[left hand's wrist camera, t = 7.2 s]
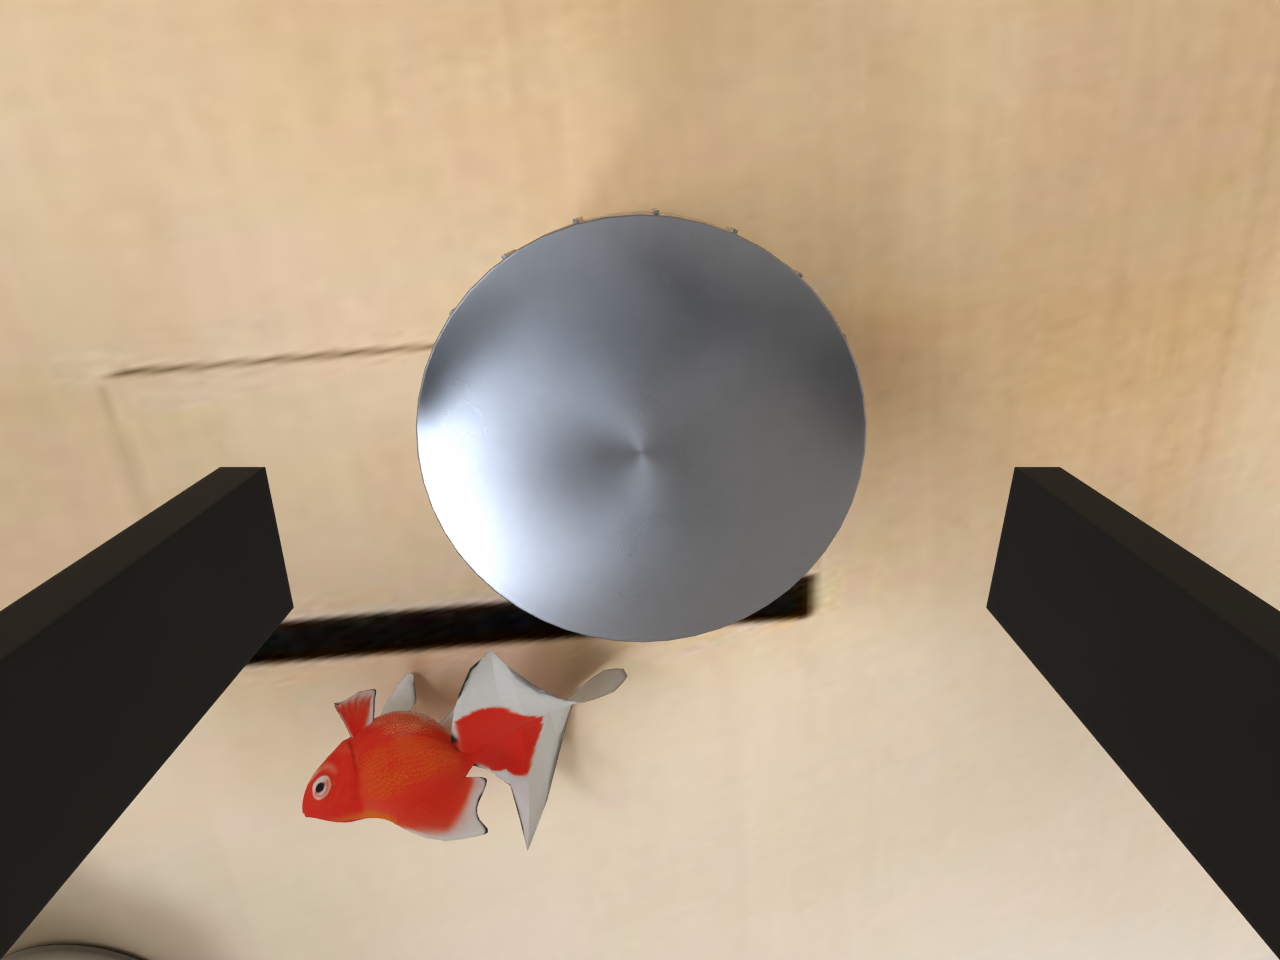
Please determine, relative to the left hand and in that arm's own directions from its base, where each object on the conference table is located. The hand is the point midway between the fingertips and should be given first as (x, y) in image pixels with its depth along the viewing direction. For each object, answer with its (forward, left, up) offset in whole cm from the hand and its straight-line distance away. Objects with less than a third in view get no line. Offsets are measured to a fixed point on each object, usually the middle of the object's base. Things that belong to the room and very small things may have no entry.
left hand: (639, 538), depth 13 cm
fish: (-20, -3, -21) cm, 29 cm away
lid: (0, 0, -5) cm, 5 cm away
